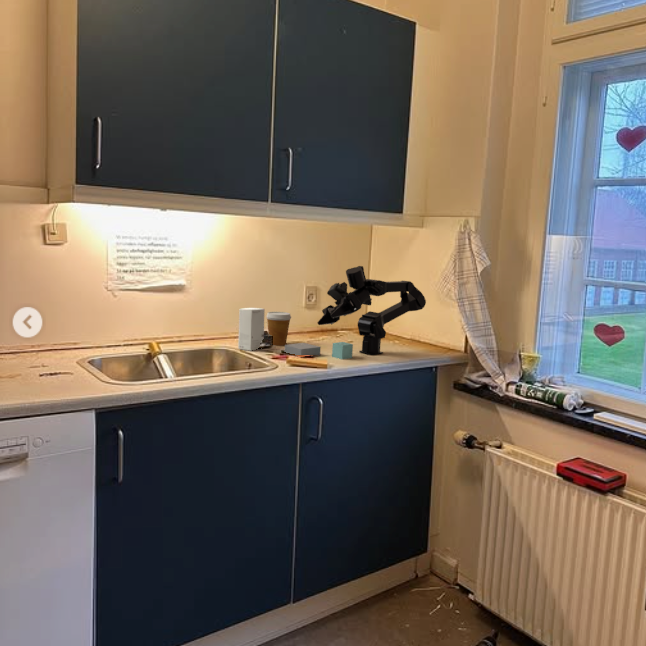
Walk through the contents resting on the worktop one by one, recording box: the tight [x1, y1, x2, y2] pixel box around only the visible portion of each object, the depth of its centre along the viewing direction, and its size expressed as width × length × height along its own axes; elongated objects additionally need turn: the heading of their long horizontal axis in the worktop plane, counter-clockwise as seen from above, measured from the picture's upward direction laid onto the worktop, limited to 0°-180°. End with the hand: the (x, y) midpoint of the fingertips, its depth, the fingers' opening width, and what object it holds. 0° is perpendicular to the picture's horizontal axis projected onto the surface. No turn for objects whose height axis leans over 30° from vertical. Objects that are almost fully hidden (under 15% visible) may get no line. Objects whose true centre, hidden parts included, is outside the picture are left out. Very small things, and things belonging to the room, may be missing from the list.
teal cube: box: [331, 341, 354, 360], centre depth 221 cm, size 5×5×5 cm
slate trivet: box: [283, 342, 321, 356], centre depth 223 cm, size 9×9×3 cm
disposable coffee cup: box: [265, 311, 292, 347], centre depth 238 cm, size 10×10×12 cm
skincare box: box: [237, 307, 266, 352], centre depth 227 cm, size 8×6×15 cm
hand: (324, 320), depth 213 cm, fingers open, 9 cm apart
